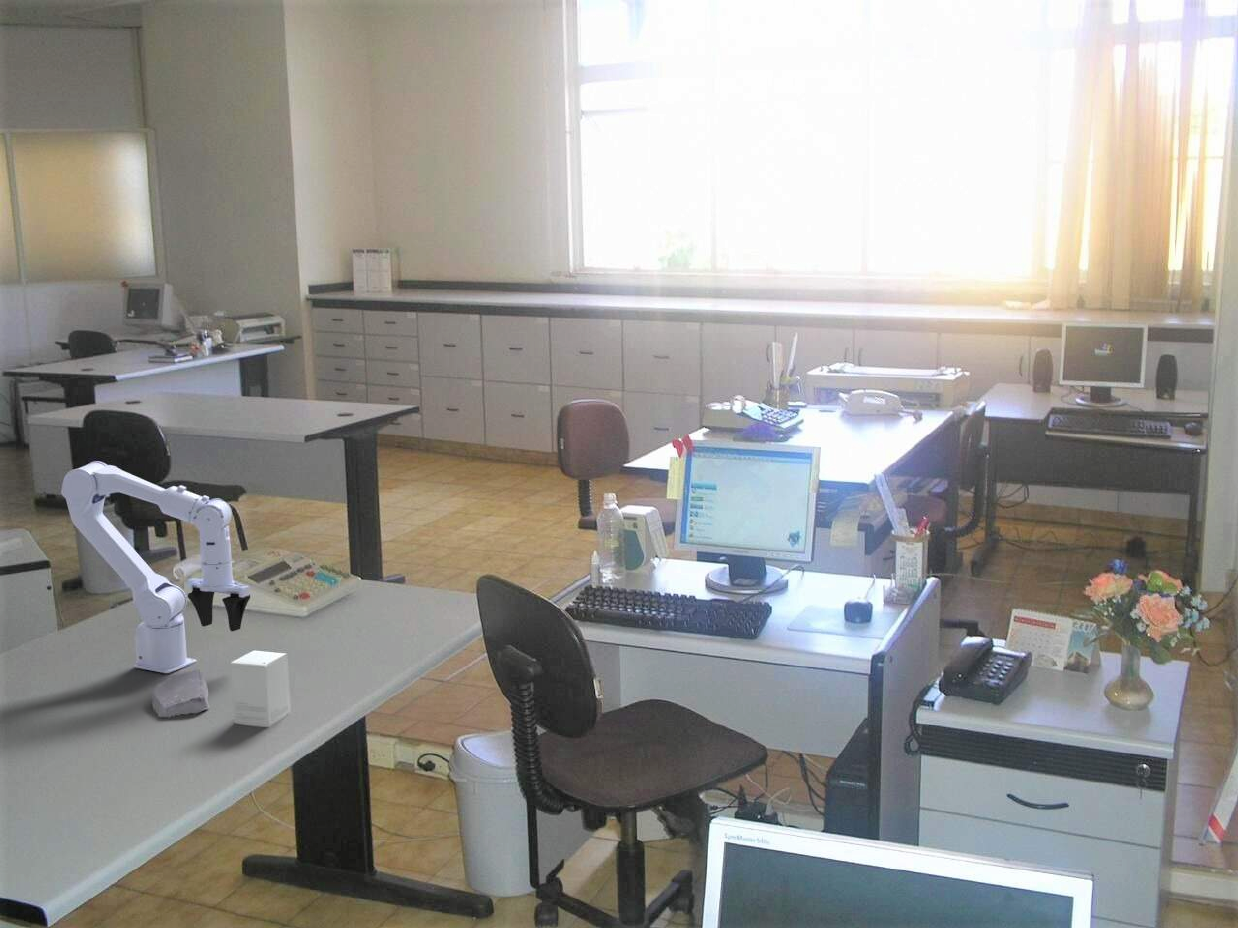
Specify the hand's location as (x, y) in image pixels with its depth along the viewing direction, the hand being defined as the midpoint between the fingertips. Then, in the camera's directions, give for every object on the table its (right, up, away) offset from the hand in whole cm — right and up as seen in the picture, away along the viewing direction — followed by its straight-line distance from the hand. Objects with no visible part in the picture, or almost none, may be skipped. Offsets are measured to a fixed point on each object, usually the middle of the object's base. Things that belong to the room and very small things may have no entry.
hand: (221, 627), depth 251 cm
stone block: (-7, -11, -20) cm, 24 cm away
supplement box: (+16, -14, -25) cm, 33 cm away
